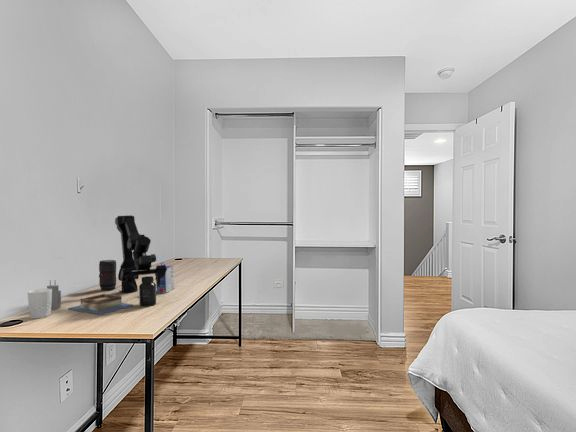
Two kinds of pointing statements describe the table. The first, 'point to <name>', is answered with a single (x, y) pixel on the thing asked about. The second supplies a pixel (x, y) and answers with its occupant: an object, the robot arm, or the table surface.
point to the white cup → (40, 302)
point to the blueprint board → (78, 308)
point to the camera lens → (107, 274)
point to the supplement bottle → (147, 291)
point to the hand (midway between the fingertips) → (148, 288)
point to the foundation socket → (101, 302)
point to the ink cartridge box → (166, 281)
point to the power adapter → (55, 296)
